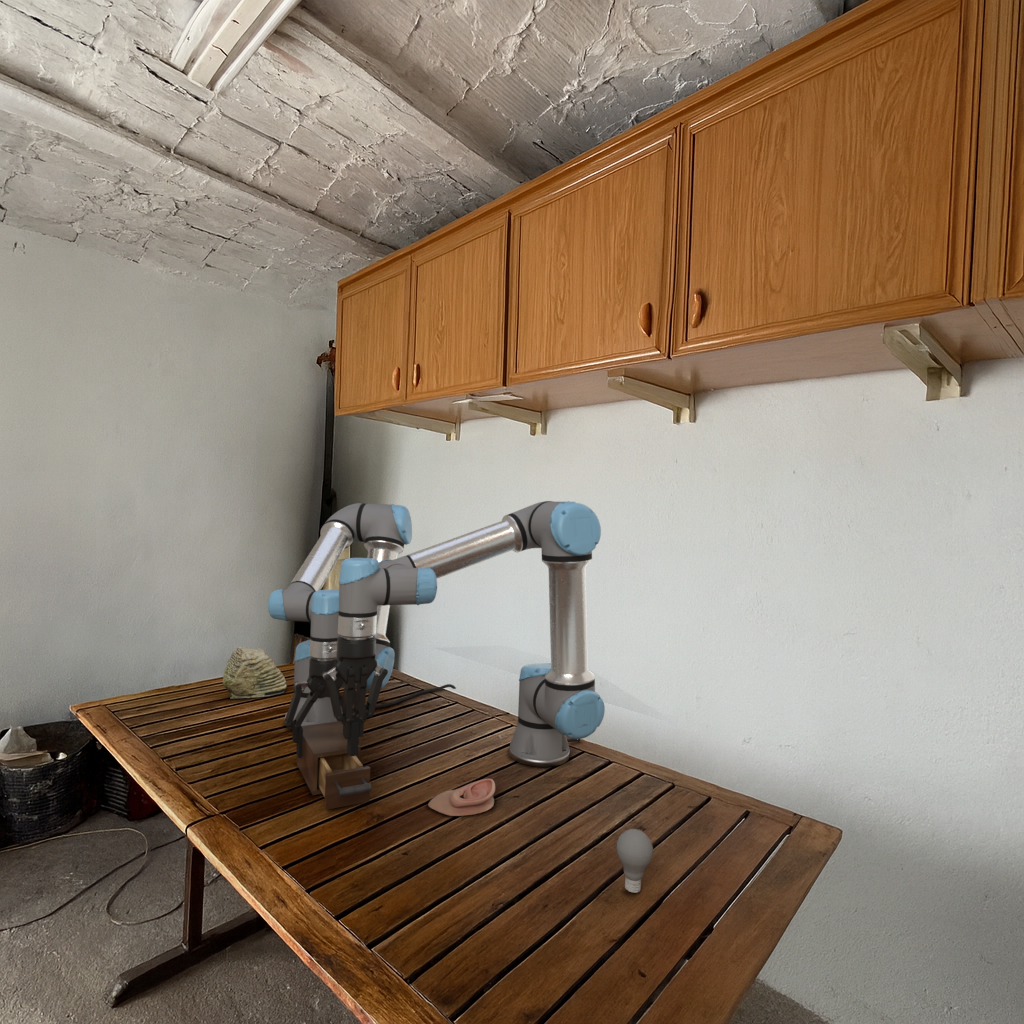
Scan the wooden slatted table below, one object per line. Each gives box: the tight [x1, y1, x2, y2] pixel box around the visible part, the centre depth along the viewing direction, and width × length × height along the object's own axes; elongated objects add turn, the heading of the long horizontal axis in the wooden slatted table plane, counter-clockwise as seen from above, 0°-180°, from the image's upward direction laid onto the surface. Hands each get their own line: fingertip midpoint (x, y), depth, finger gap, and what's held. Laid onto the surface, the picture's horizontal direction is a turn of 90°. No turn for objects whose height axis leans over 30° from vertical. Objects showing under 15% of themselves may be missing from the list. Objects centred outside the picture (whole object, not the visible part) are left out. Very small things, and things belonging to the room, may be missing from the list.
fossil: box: [222, 646, 288, 699], centre depth 198 cm, size 9×18×15 cm, turn 132°
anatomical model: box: [427, 778, 496, 817], centre depth 133 cm, size 13×4×12 cm
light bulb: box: [615, 828, 654, 894], centre depth 106 cm, size 6×6×10 cm
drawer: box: [317, 753, 372, 811], centre depth 133 cm, size 22×9×7 cm, turn 29°
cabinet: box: [296, 721, 362, 796], centre depth 144 cm, size 18×10×9 cm, turn 29°
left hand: (322, 751), depth 148 cm, fingers closed on cabinet, 10 cm apart
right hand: (352, 753), depth 127 cm, fingers closed
